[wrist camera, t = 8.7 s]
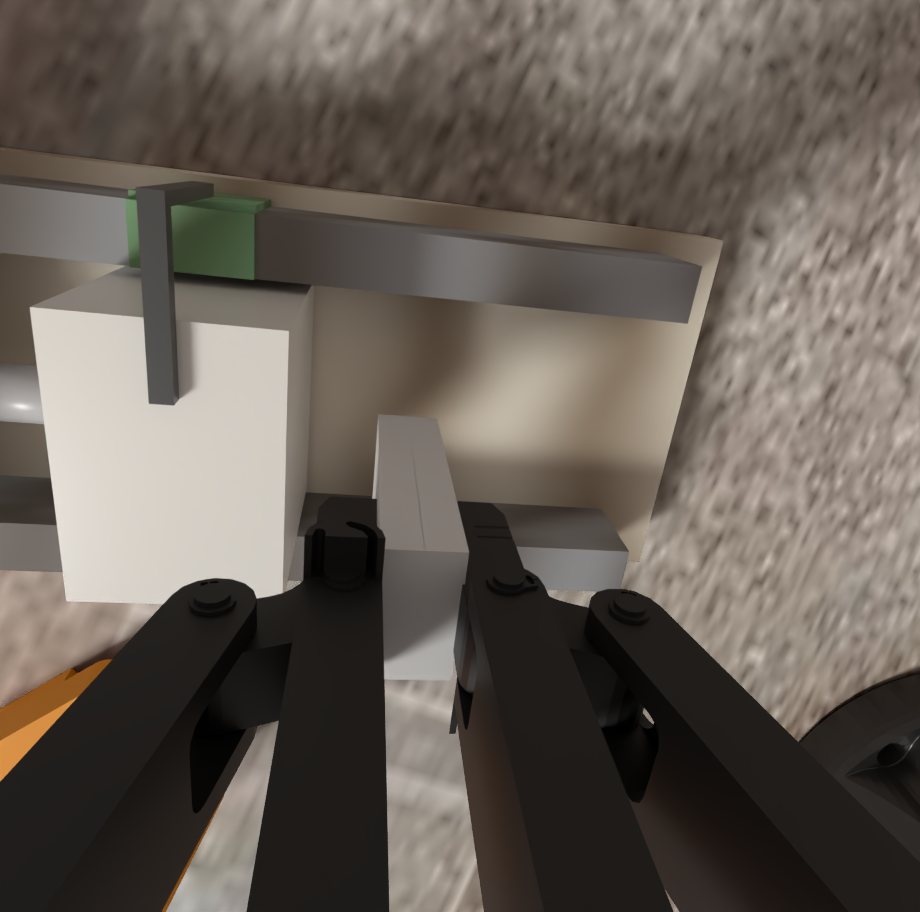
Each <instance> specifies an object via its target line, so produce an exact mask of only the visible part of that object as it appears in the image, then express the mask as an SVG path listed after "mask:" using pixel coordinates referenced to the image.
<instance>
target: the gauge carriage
mask: <svg viewBox="0 0 920 912" xmlns="http://www.w3.org/2000/svg"><path fill="white" fill-rule="evenodd" d="M211 197H214V183H205V182H197V181H186V182H177V183H169V184H160V185H151V186H142V187H136V201H137V218H138V234H139V251H140V268H132V267H129V266H125V267H122V268H120V269H118V270H115V271H113V272H110V273H108V274H106V275H103V276H101V277H99V278H96V279H94V280H92V281H89V282H87V283H85V284H82V285H80V286H78V287H75V288H73V289H71V290H68V291H66V292H64V293H61V294H59V295H57V296H54V297H52V298H50V299H47V300H45V301H43V302H40V303H38V304H36V305H33V306H31V307H30V314H31V322H32V330H33V338H34V346H35V354H36V362H37V365H31V364H18V363H6V362H0V421H5V422H20V423H34V424H44V426H45V434H46V442H47V450H48V458H49V466H50V474H51V482H52V490H53V498H54V506H55V514H56V522H57V530H58V538H59V546H60V554H61V562H62V570H63V578H64V586H65V594H66V601H78V602H112V603H145V604H164V603H165V602H166V601H167V600H168V598H169V597H170V596H171V595H172V594H174V593H175V592H176V591H178V590H179V589H180V588H182V587H183V586H186V585H188V584H191V583H193V582H196V581H199V580H205V579H212V578H222V579H233V580H236V581H239V582H242V583H245V584H246V585H248V586H249V587H250V588H251V589H253V590H254V592H255V595H256V598H263V597H269V596H273V595H277V594H281V593H284V592H285V591H286V586H287V582H288V577H289V572H290V567H291V562H292V557H293V552H294V547H295V542H296V538H297V533H298V528H299V523H300V518H301V513H302V508H303V503H304V498H305V494H306V489H307V469H308V442H309V416H310V390H311V363H312V337H313V311H314V285H308V284H298V283H288V282H279V281H269V280H259V279H254V280H249V279H239V278H229V277H220V276H210V275H200V274H190V273H181V272H174V265H173V241H172V216H171V206H176V205H180V204H184V203H189V202H193V201H198V200H202V199H206V198H211Z"/></svg>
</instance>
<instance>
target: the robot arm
mask: <svg viewBox="0 0 920 912" xmlns="http://www.w3.org/2000/svg"><path fill="white" fill-rule="evenodd" d="M454 659H455V665H456V671H457V682H456V689H455V696H454V703H453V710H452V717H451V724H450V732H449V734H455V733H456V728H457V725H458V732H459V739H460V746H461V753H462V760H463V767H464V774H465V781H466V788H467V795H468V802H469V809H470V816H471V823H472V830H473V837H474V844H475V851H476V858H477V865H478V872H479V879H480V887H481V894H482V901H483V908H484V912H673V909H672V907H671V904H670V902H669V899H668V897H667V894H666V892H665V890H666V891H667V893H668V894H669V896H670V897H671V899H672V901H673V902H674V904H675V905H676V907H677V908H678V910H679V912H920V674H918V675H914V676H910V677H906V678H903V679H900V680H897V681H894V682H891V683H888V684H886V685H883V686H881V687H879V688H876V689H874V690H872V691H870V692H868V693H866V694H864V695H862V696H860V697H858V698H856V699H855V700H853V701H851V702H850V703H848V704H846V705H845V706H843V707H842V708H840V709H839V710H837V711H836V712H834V713H833V714H832V715H830V716H829V717H828V718H826V719H825V720H824V721H823V722H821V723H820V724H819V725H818V726H817V727H816V728H815V729H813V730H812V731H811V732H810V733H809V734H808V735H807V736H806V737H805V738H804V739H803V740H802V741H801V742H800V744H799V743H798V742H797V741H796V740H795V739H794V738H793V737H792V736H791V735H790V734H789V733H788V732H787V731H786V730H785V729H784V728H783V727H782V726H781V725H780V724H779V723H778V722H777V721H776V720H775V719H774V718H773V717H772V716H771V715H770V714H769V713H768V712H767V711H766V710H765V709H764V708H763V707H762V706H761V705H760V704H759V703H758V702H757V701H756V700H755V699H754V698H753V697H752V696H751V695H750V694H749V693H748V692H747V691H746V690H745V689H744V688H743V687H742V686H741V685H740V684H739V683H738V682H737V681H736V680H735V679H734V678H733V677H732V676H731V675H730V674H729V673H727V672H726V671H725V670H724V669H723V668H722V667H721V666H720V665H719V664H718V663H717V662H716V661H715V660H714V659H713V658H712V657H711V656H710V655H709V654H708V653H707V652H706V651H705V650H704V649H703V648H702V647H701V646H700V645H699V644H698V643H697V642H696V641H695V640H694V639H693V638H692V637H691V636H690V635H689V634H688V633H687V632H686V631H685V630H684V629H683V628H682V627H681V626H680V625H679V624H678V623H677V622H676V621H675V620H674V619H673V618H672V617H671V616H670V615H669V614H668V613H667V612H666V611H665V610H664V609H663V608H662V607H661V606H659V605H658V604H657V603H655V602H654V601H653V600H651V599H650V598H648V597H646V596H643V595H641V594H639V593H637V592H634V591H631V590H629V591H628V590H626V589H606V590H602V591H599V592H597V593H596V594H595V595H594V596H592V597H591V600H590V604H589V608H587V607H583V606H579V605H574V604H570V603H566V602H563V601H559V600H556V599H554V598H552V597H549V596H548V593H547V591H546V588H545V586H544V584H543V583H542V581H541V580H540V579H539V577H537V576H536V575H534V574H533V573H532V572H530V571H529V570H526V569H524V567H523V564H522V561H521V559H520V556H519V553H518V550H517V548H516V545H515V542H514V540H513V537H512V534H511V531H510V529H509V526H508V523H507V520H506V518H505V515H504V514H503V513H502V512H501V511H500V510H499V509H498V508H496V507H495V506H494V505H493V504H492V503H483V502H463V501H457V500H456V496H455V491H454V487H453V483H452V479H451V475H450V471H449V467H448V462H447V458H446V454H445V450H444V446H443V442H442V437H441V433H440V429H439V425H438V421H437V418H427V417H412V416H398V415H383V414H378V426H377V440H376V454H375V468H374V482H373V496H372V499H370V498H350V497H331V496H330V497H329V498H328V499H327V500H326V501H325V502H324V503H323V504H322V505H321V506H320V507H319V509H318V515H317V522H316V524H314V525H312V526H311V527H309V528H308V530H307V532H306V533H305V535H304V569H303V581H302V582H301V583H300V584H299V585H297V586H296V587H294V588H293V589H291V590H289V591H286V592H284V593H281V594H277V595H273V596H269V597H263V598H256V595H255V592H254V590H253V589H251V588H250V587H249V586H248V585H246V584H245V583H242V582H239V581H236V580H233V579H222V578H212V579H205V580H199V581H196V582H193V583H191V584H188V585H186V586H183V587H182V588H180V589H179V590H178V591H176V592H175V593H174V594H172V595H171V596H170V597H169V598H168V600H167V601H166V602H165V603H164V604H163V605H162V606H161V607H160V608H159V609H158V610H157V612H156V613H155V614H154V615H153V616H152V617H151V618H150V619H149V620H148V621H147V622H146V624H145V625H144V626H143V627H142V628H141V629H140V630H139V631H138V632H137V633H136V634H135V635H134V637H133V638H132V639H131V640H130V641H129V642H128V643H127V644H126V645H125V646H124V647H123V649H122V650H121V651H120V652H119V653H118V654H117V655H116V656H115V657H114V658H113V659H112V661H111V662H110V663H109V664H108V665H107V666H106V667H105V668H104V669H103V670H102V671H101V672H100V674H99V675H98V676H97V677H96V678H95V679H94V680H93V681H92V682H91V683H90V684H89V686H88V687H87V688H86V689H85V690H84V691H83V692H82V693H81V694H80V695H79V696H78V698H77V699H76V700H75V701H74V702H73V703H72V704H71V705H70V706H69V707H68V708H67V709H66V711H65V712H64V713H63V714H62V715H61V716H60V717H59V718H58V719H57V720H56V721H55V723H54V724H53V725H52V726H51V727H50V728H49V729H48V730H47V731H46V732H45V733H44V735H43V736H42V737H41V738H40V739H39V740H38V741H37V742H36V743H35V744H34V745H33V746H32V748H31V749H30V750H29V751H28V752H27V753H26V754H25V755H24V756H23V757H22V758H21V760H20V761H19V762H18V763H17V764H16V765H15V766H14V767H13V768H12V769H11V770H10V772H9V773H8V774H7V775H6V776H5V777H4V778H3V779H2V780H1V781H0V912H162V910H163V908H164V906H165V904H166V903H167V901H168V899H169V897H170V895H171V893H172V891H173V889H174V888H175V886H176V884H177V882H178V880H179V878H180V876H181V874H182V873H183V871H184V869H185V867H186V865H187V863H188V861H189V859H190V857H191V856H192V854H193V852H194V850H195V848H196V846H197V844H198V842H199V841H200V839H201V837H202V835H203V833H204V831H205V829H206V827H207V826H208V824H209V822H210V820H211V818H212V816H213V814H214V812H215V811H216V809H217V807H218V805H219V803H220V801H221V799H222V797H223V795H224V794H225V792H226V790H227V788H228V786H229V784H230V782H231V780H232V779H233V777H234V775H235V773H236V771H237V769H238V767H239V765H240V764H241V762H242V760H243V758H244V756H245V754H246V752H247V750H248V749H249V747H250V745H251V743H252V741H253V739H254V736H255V733H256V729H257V726H258V725H262V724H266V723H270V722H274V721H278V720H279V724H278V730H277V736H276V741H275V747H274V753H273V759H272V765H271V771H270V777H269V783H268V789H267V795H266V800H265V806H264V812H263V818H262V824H261V830H260V836H259V842H258V848H257V854H256V859H255V865H254V871H253V877H252V883H251V889H250V895H249V901H248V907H247V912H389V880H388V832H387V784H386V737H385V689H384V680H452V673H453V666H454ZM644 708H645V709H646V710H647V712H648V713H649V714H650V716H651V718H652V719H653V721H654V725H653V724H652V723H651V722H650V721H649V720H648V719H647V718H646V717H645V715H644V714H643V709H644ZM663 886H664V887H663ZM664 888H665V889H664Z"/></svg>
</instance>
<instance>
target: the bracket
mask: <svg viewBox="0 0 920 912" xmlns="http://www.w3.org/2000/svg"><path fill="white" fill-rule="evenodd" d="M111 661H112V659H107V660H102V661H99V662H97V663H95V664H93V665H91V666H90V667H88V668H86V669H84V670H83V671H81V672H79V673H77V672H76V671H75V670H74V669H73V668H71V669H69V670H67V671H66V672H64V673H62V674H60V675H59V676H57V677H55V678H53V679H52V680H50V681H48V682H46V683H45V684H43V685H41V686H39V687H38V688H36V689H34V690H32V691H31V692H29V693H27V694H25V695H24V696H22V697H20V698H19V699H17V700H15V701H13V702H12V703H10V704H8V705H6V706H5V707H3V708H1V709H0V781H1V780H2V779H3V778H4V777H5V776H6V775H7V774H8V773H9V772H10V770H11V769H12V768H13V767H14V766H15V765H16V764H17V763H18V762H19V761H20V760H21V758H22V757H23V756H24V755H25V754H26V753H27V752H28V751H29V750H30V749H31V748H32V746H33V745H34V744H35V743H36V742H37V741H38V740H39V739H40V738H41V737H42V736H43V735H44V733H45V732H46V731H47V730H48V729H49V728H50V727H51V726H52V725H53V724H54V723H55V721H56V720H57V719H58V718H59V717H60V716H61V715H62V714H63V713H64V712H65V711H66V709H67V708H68V707H69V706H70V705H71V704H72V703H73V702H74V701H75V700H76V699H77V698H78V696H79V695H80V694H81V693H82V692H83V691H84V690H85V689H86V688H87V687H88V686H89V684H90V683H91V682H92V681H93V680H94V679H95V678H96V677H97V676H98V675H99V674H100V672H101V671H102V670H103V669H104V668H105V667H106V666H107V665H108V664H109V663H110V662H111ZM223 797H224V795H223ZM223 797H222V799H223ZM222 799H221V801H222ZM221 801H220V803H221ZM220 803H219V805H220ZM219 805H218V807H219ZM218 807H217V809H218ZM217 809H216V811H217ZM216 811H215V812H214V814H213V816H212V818H211V820H210V822H209V824H208V826H207V827H206V829H205V831H204V833H203V835H202V837H201V839H200V841H199V842H198V844H197V846H196V848H195V850H194V852H193V854H192V856H191V857H190V859H189V861H188V863H187V865H186V867H185V869H184V871H183V873H182V874H181V876H180V878H179V880H178V882H177V884H176V886H175V888H174V889H173V891H172V893H171V895H170V897H169V899H168V901H167V903H166V904H165V906H164V908H163V910H162V912H166V910H167V908H168V906H169V904H170V902H171V900H172V898H173V896H174V894H175V892H176V890H177V888H178V886H179V884H180V883H181V881H182V879H183V877H184V875H185V873H186V871H187V869H188V867H189V865H190V863H191V861H192V859H193V857H194V855H195V853H196V851H197V849H198V847H199V845H200V843H201V841H202V839H203V837H204V835H205V833H206V831H207V829H208V827H209V825H210V823H211V821H212V819H213V817H214V815H215V813H216Z"/></svg>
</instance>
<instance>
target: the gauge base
mask: <svg viewBox="0 0 920 912" xmlns="http://www.w3.org/2000/svg"><path fill="white" fill-rule="evenodd" d="M186 181H197V182H205V183H214V197H211V198H206V199H202V200H198V201H193V202H189V203H184V204H180V205H176V206H171V216H172V241H173V265H174V272H181V273H190V274H200V275H210V276H220V277H229V278H239V279H249V280H254V279H259V280H269V281H279V282H288V283H298V284H308V285H314V311H313V337H312V363H311V390H310V416H309V442H308V469H307V489H306V494H305V498H304V503H303V508H302V513H301V518H300V523H299V528H298V533H297V538H296V542H295V547H294V552H293V557H292V562H291V567H290V572H289V577H288V580H292V581H303V569H304V535H305V533H306V532H307V530H308V528H309V527H311V526H312V525H314V524H316V522H317V515H318V509H319V507H320V506H321V505H322V504H323V503H324V502H325V501H326V500H327V499H328V498H329V497H330V496H331V497H350V498H370V499H372V496H373V482H374V468H375V454H376V440H377V426H378V414H383V415H398V416H412V417H427V418H437V421H438V425H439V429H440V433H441V437H442V442H443V446H444V450H445V454H446V458H447V462H448V467H449V471H450V475H451V479H452V483H453V487H454V491H455V496H456V500H457V501H463V502H483V503H492V504H493V505H494V506H495V507H496V508H498V509H499V510H500V511H501V512H502V513H503V514H504V515H505V518H506V520H507V523H508V526H509V529H510V531H511V534H512V537H513V540H514V542H515V545H516V548H517V550H518V553H519V556H520V559H521V561H522V564H523V567H524V569H526V570H529V571H530V572H532V573H533V574H534V575H536V576H537V577H539V579H540V580H541V581H542V583H543V584H544V586H545V588H546V590H568V591H595V592H599V591H602V590H606V589H620V587H621V583H622V579H623V575H624V571H625V567H626V564H627V561H631V562H639V560H640V557H641V553H642V549H643V545H644V542H645V538H646V534H647V530H648V526H649V523H650V519H651V515H652V511H653V507H654V504H655V500H656V496H657V492H658V488H659V485H660V481H661V477H662V473H663V469H664V466H665V462H666V458H667V454H668V450H669V447H670V443H671V439H672V435H673V431H674V428H675V424H676V420H677V416H678V412H679V409H680V405H681V401H682V397H683V393H684V390H685V386H686V382H687V378H688V375H689V371H690V367H691V363H692V359H693V356H694V352H695V348H696V344H697V340H698V337H699V333H700V329H701V325H702V321H703V318H704V314H705V310H706V306H707V302H708V299H709V295H710V291H711V287H712V283H713V280H714V276H715V272H716V268H717V264H718V261H719V257H720V253H721V249H722V245H723V242H724V241H723V240H719V239H714V238H710V237H706V236H701V235H697V234H690V233H682V232H674V231H666V230H658V229H650V228H642V227H634V226H626V225H618V224H610V223H602V222H594V221H586V220H578V219H570V218H562V217H554V216H546V215H538V214H530V213H523V212H515V211H507V210H499V209H491V208H483V207H475V206H467V205H459V204H451V203H443V202H435V201H427V200H419V199H411V198H403V197H395V196H387V195H379V194H371V193H363V192H355V191H348V190H340V189H332V188H324V187H316V186H308V185H300V184H292V183H284V182H276V181H268V180H260V179H252V178H244V177H236V176H228V175H220V174H212V173H204V172H196V171H188V170H180V169H172V168H165V167H157V166H149V165H141V164H133V163H125V162H117V161H109V160H101V159H93V158H85V157H77V156H69V155H61V154H53V153H45V152H37V151H29V150H21V149H13V148H5V147H0V362H6V363H18V364H31V365H37V362H36V354H35V346H34V338H33V330H32V322H31V314H30V307H31V306H33V305H36V304H38V303H40V302H43V301H45V300H47V299H50V298H52V297H54V296H57V295H59V294H61V293H64V292H66V291H68V290H71V289H73V288H75V287H78V286H80V285H82V284H85V283H87V282H89V281H92V280H94V279H96V278H99V277H101V276H103V275H106V274H108V273H110V272H113V271H115V270H118V269H120V268H122V267H125V266H129V267H132V268H140V251H139V234H138V218H137V201H136V187H142V186H151V185H160V184H169V183H177V182H186ZM0 570H15V571H43V572H63V570H62V562H61V554H60V546H59V538H58V530H57V522H56V514H55V506H54V498H53V490H52V482H51V474H50V466H49V458H48V450H47V442H46V434H45V426H44V424H34V423H20V422H5V421H0Z"/></svg>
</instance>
